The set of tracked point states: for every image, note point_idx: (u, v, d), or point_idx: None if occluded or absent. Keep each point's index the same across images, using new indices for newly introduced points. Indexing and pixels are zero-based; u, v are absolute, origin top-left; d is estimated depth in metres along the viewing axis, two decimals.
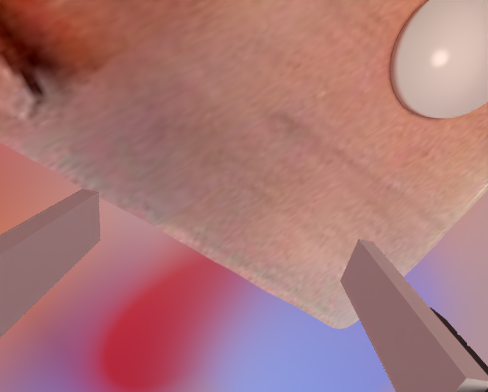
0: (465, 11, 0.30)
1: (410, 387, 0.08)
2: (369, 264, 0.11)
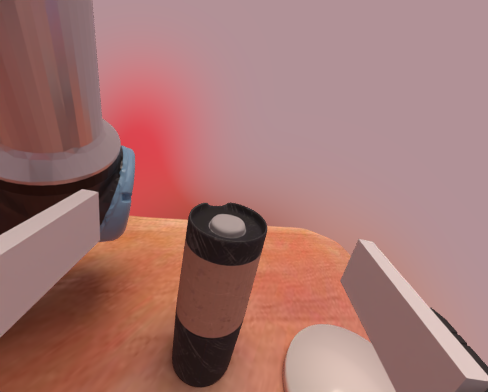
0: (315, 356, 0.31)
1: (410, 387, 0.08)
2: (369, 264, 0.11)
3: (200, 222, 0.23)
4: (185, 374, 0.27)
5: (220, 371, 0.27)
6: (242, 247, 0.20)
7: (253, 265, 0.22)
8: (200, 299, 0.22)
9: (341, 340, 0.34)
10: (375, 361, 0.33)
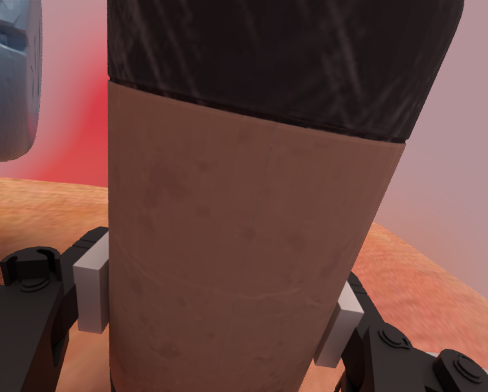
0: None
1: None
2: None
3: None
4: None
5: None
6: None
7: (392, 174, 0.05)
8: (168, 321, 0.05)
9: None
10: None
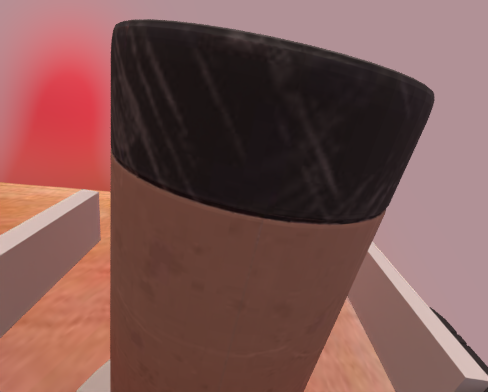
0: None
1: (409, 387, 0.08)
2: (369, 264, 0.11)
3: None
4: None
5: None
6: (383, 113, 0.04)
7: None
8: (167, 373, 0.06)
9: None
10: None
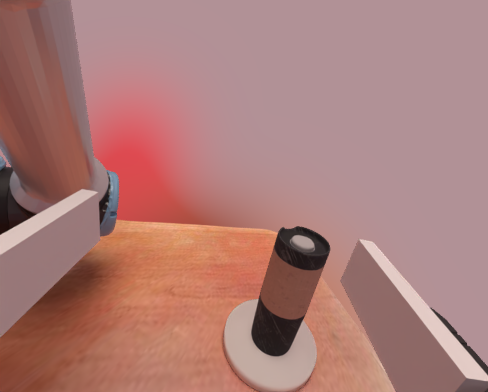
0: (248, 319, 0.44)
1: (410, 387, 0.08)
2: (369, 264, 0.11)
3: (284, 241, 0.34)
4: (266, 347, 0.38)
5: (290, 345, 0.39)
6: (319, 258, 0.32)
7: None
8: (287, 293, 0.34)
9: None
10: None
